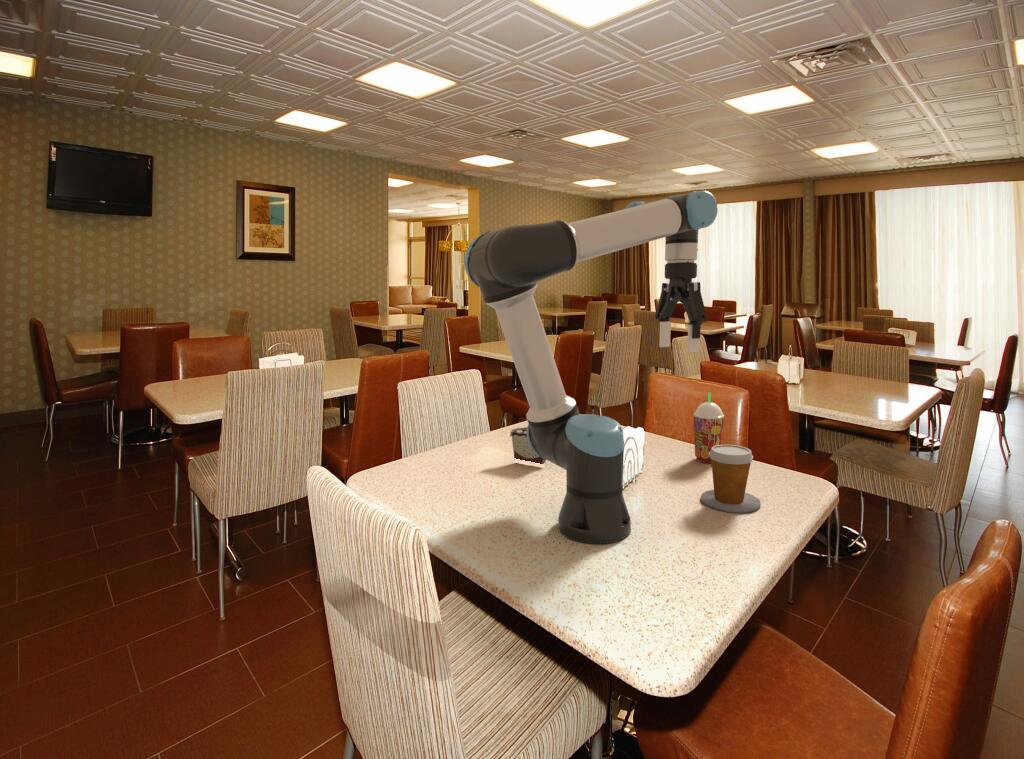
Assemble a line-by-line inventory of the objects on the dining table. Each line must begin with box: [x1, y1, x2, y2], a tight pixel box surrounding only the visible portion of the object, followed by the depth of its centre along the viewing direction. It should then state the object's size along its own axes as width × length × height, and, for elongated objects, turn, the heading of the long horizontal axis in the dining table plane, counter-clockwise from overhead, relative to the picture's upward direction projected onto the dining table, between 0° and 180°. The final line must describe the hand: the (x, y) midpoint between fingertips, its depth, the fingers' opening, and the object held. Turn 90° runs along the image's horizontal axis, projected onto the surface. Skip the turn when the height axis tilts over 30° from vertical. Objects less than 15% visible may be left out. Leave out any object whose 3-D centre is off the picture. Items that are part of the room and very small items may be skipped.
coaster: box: [700, 489, 761, 514], centre depth 131 cm, size 13×13×1 cm
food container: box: [509, 426, 547, 464], centre depth 162 cm, size 12×6×10 cm, turn 58°
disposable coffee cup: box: [709, 444, 754, 504], centre depth 130 cm, size 10×10×12 cm
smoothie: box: [693, 392, 725, 464], centre depth 161 cm, size 8×8×20 cm
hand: (678, 349), depth 138 cm, fingers open, 13 cm apart
